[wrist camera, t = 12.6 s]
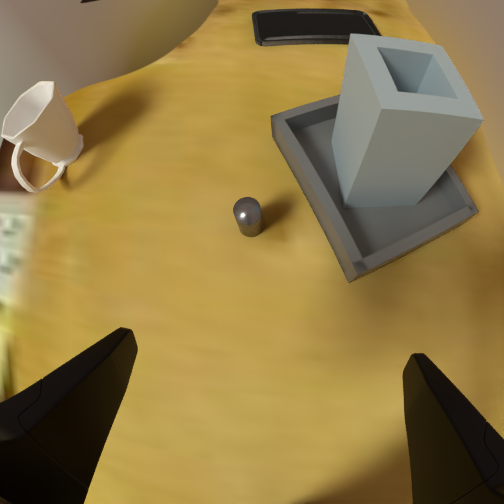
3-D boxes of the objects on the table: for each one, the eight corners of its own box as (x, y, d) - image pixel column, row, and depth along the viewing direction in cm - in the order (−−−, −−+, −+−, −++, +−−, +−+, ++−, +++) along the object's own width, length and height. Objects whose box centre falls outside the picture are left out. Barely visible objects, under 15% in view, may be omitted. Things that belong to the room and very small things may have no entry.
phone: (385, 42, 28) (255, 42, 29) (383, 49, 29) (256, 49, 30) (364, 10, 30) (251, 10, 31) (363, 16, 31) (252, 17, 32)
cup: (102, 118, 29) (66, 70, 21) (79, 202, 26) (26, 161, 18) (54, 131, 29) (17, 91, 21) (30, 209, 26) (-21, 176, 19)
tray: (462, 224, 22) (478, 211, 19) (348, 282, 22) (357, 274, 19) (381, 102, 26) (388, 83, 23) (272, 136, 25) (270, 115, 23)
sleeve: (415, 205, 22) (484, 120, 11) (343, 207, 22) (381, 108, 12) (393, 127, 24) (431, 31, 13) (328, 126, 24) (343, 19, 14)
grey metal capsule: (267, 231, 23) (264, 215, 20) (244, 240, 23) (239, 226, 20) (257, 210, 24) (254, 193, 21) (235, 220, 24) (229, 203, 21)
